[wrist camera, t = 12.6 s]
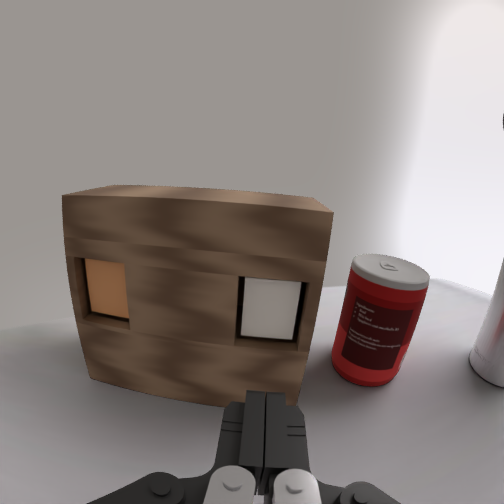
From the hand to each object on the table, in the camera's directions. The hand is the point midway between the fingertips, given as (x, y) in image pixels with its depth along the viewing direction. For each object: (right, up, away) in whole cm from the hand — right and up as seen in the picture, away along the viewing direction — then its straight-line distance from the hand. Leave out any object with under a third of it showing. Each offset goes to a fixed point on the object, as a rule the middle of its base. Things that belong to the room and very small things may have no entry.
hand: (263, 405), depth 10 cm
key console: (-6, -5, +15) cm, 17 cm away
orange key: (-11, +2, +12) cm, 17 cm away
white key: (+1, +1, +12) cm, 12 cm away
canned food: (+11, -6, +17) cm, 21 cm away
